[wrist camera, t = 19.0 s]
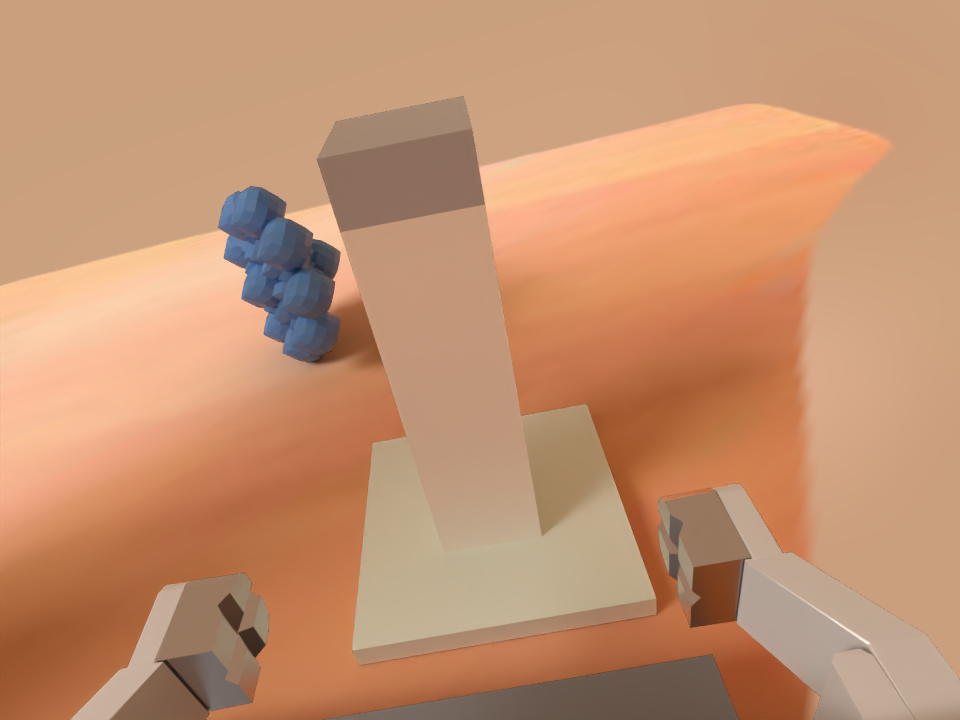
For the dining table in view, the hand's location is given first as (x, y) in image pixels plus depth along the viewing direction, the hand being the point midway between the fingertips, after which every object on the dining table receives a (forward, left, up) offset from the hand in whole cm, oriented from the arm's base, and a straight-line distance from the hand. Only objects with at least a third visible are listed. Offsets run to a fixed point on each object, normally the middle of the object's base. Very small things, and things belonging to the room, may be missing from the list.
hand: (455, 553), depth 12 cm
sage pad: (-7, +8, -11) cm, 15 cm away
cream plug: (-7, +8, -10) cm, 14 cm away
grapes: (-25, +14, -11) cm, 31 cm away
